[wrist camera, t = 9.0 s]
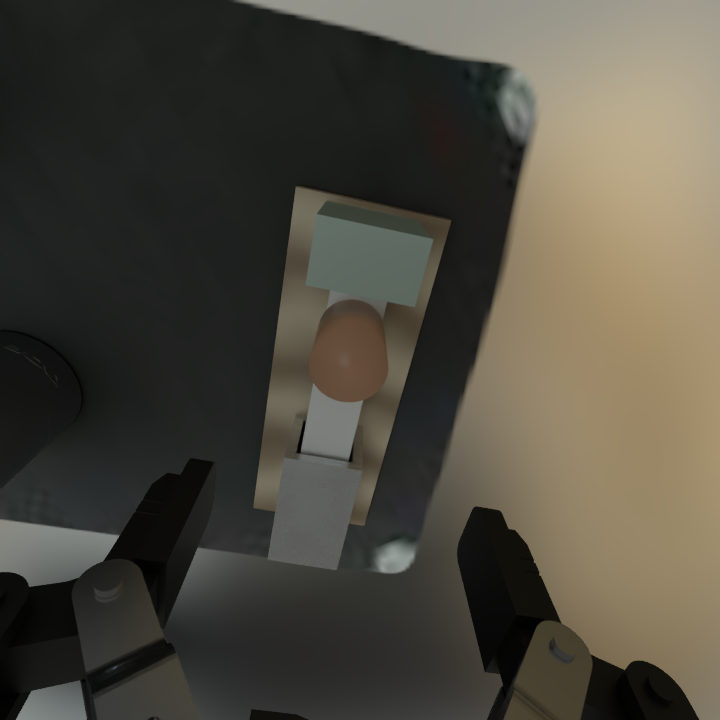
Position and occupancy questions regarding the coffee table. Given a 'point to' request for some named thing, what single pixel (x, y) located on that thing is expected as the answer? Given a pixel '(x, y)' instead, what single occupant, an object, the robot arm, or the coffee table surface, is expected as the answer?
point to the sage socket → (368, 253)
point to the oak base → (297, 341)
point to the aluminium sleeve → (314, 503)
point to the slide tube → (344, 372)
